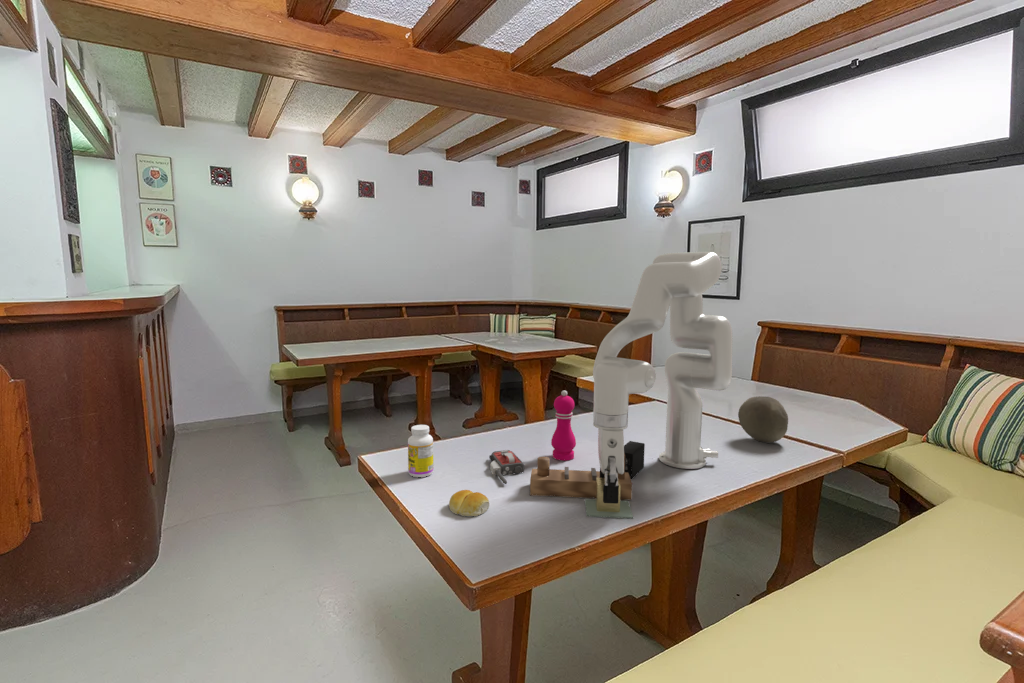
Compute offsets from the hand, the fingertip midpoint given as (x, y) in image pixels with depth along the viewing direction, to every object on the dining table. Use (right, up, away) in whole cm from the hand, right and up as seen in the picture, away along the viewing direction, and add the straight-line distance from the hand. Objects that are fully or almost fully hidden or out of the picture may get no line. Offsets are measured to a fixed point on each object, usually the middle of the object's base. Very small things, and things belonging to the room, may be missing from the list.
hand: (608, 493), depth 110 cm
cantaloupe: (+59, +1, +48) cm, 76 cm away
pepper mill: (-7, 0, +34) cm, 35 cm away
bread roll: (-31, -4, +1) cm, 32 cm away
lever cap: (0, -3, +1) cm, 3 cm away
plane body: (-5, -3, +10) cm, 11 cm away
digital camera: (+10, -1, +24) cm, 26 cm away
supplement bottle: (-46, -2, +21) cm, 51 cm away
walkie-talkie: (-23, -2, +23) cm, 33 cm away
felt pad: (0, -4, 0) cm, 4 cm away
